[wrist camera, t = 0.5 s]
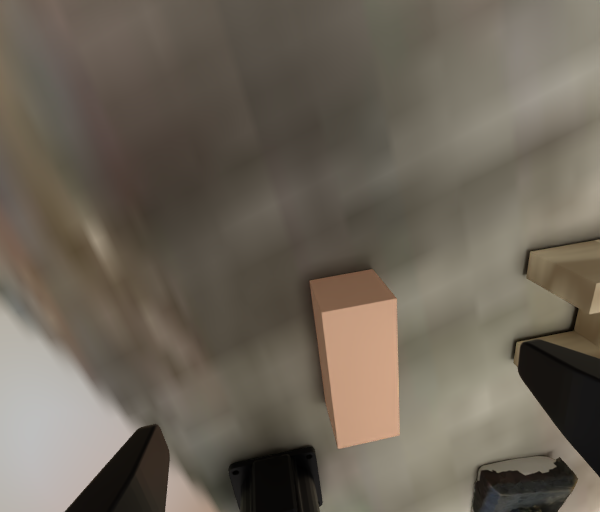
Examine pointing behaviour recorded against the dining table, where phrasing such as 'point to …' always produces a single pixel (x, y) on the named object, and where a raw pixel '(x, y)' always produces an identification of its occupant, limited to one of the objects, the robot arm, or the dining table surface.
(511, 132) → the dining table surface
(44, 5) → the dining table surface
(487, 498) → the statue
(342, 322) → the peg
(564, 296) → the block
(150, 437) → the robot arm
